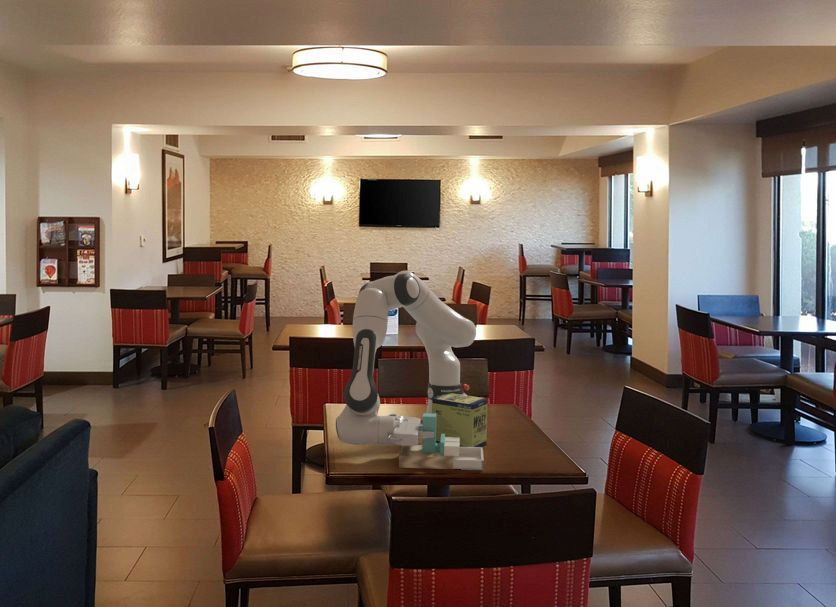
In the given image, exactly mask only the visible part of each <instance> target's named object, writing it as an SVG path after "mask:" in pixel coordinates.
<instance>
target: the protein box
mask: <svg viewBox="0 0 836 607" xmlns="http://www.w3.org/2000/svg"><path fill="white" fill-rule="evenodd" d="M466 395H467V394H466ZM466 395H459V394H453V393H447V394H444V395H441V396H438V397H435V398H432V414H436V443H440V441H441V434H445V437H460V447H482V448H483V447H484V446H487V437H488V435H487V432H488V431H487V430H488V397H487V398H486V397H478V396H472V395H467V396H466Z"/></svg>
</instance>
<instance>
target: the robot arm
mask: <svg viewBox="0 0 836 607" xmlns="http://www.w3.org/2000/svg"><path fill="white" fill-rule="evenodd" d="M400 308H403V309H405V311H406V312H407V313H408V314H409V315H410V316H411V317H412V318H413V319H414V320H415V322H416V323H415V334H416V335H417V337H418V338H419V339H420V340H421V342H422V343H423V347H424V348H425V352H426V354H427V358H428V367H429V368H428V371H429V372H428V375H429V376H428V378H429V379H428V381H429V382H427V398H428V399H427V406H426V407H427V408H426V412H425V413H431V414H432V398H435V397H438V396H441V395H444V394H447V393H453V394H459V395H466V396H468V394H466V393H465V392H464V390H465V391H469V389H470V385H468V384H466V383H461V382H460V381H461V362H460V360H459V359H458V358H457V356H456V355H455V354H454V351H453V350H452V347H453V348H464V347H469V346H471V345H472V344H473V343H474V341H475V339H476V338H477V337H476V336H477V329H476V325H475V323H474V322H473V321H472V320H470V319H468V318H466V317H464V316H463V315H461V314H460V313H458V312H457V311H455V309H452V308H451V307H450V306H448V304H446V303H444V302H443V301H442V300H441V299H440V298H439V297H437V295H436V294H435V293H434V292H433V291H432V289H431V288H430V287H429V286H428V285H427V284H426V283H425V282H424V281H423V280H422V279H420V278H419V277H418V276H417V275H416V274H415V273H413V272H411V271H409V270H401V271H399V272H397V273H396V274H394V275H388V276H385V277H382V278H379V279H376V280H373V281H369V282H366V283H365V284H363V285H362V286H361V287H360V288H359V291H358V294H357V298H356V301H355V306H354V310H353V316H352V339H353V346H354V353H353V362H352V371H351V376H350V378H349V379H348V382H347V383H346V385H345V387H344V390H343V398H344V399H343V400H344V402H345V406H344V408H343V409H342V411H341V413H340V414H339V415H338V416H337V417H336V419H335V431H336V432H335V433H336V434H337V438H338V439H339V440H340V442H342V443H344V444H350V445H361V446H363V445H364V446H365V445H370V444H371V445H372V444H373V445H376V446H395V445H396V446H397V445H398V446H402V445H404V446H416V445H419V440H422V439H425V438H434V431H425V432H423V431H422V419H421V418H419V417H415V416H406V415H398V414H395V413H394V414H393V413H391V414H389V415H378V413H379V409H380V406H381V399H380V395H379V393H378V389H377V384H376V383H375V380H374V370H375V369H374V368H375V359H376V353H377V349H378V348H380V347H381V346H383V344H384V343H385V340H386V336H387V332H388V331H387V330H388V322H389V321H388V320H389V319H388V318H389V314H388V313H389V311H393V310H396V309H400Z"/></svg>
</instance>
